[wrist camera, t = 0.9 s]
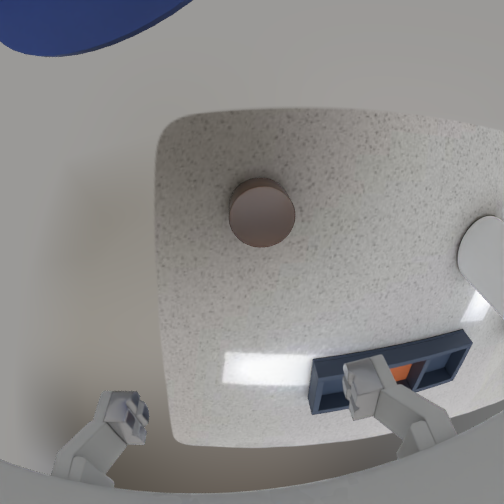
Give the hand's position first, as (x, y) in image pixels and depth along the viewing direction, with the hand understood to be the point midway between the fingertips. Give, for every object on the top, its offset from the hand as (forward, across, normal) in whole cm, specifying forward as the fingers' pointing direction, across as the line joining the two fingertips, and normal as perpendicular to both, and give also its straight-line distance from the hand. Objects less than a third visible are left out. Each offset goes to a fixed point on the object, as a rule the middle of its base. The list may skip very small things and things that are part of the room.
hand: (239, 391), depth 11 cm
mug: (+17, -28, +9) cm, 35 cm away
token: (+17, -2, -1) cm, 17 cm away
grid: (+17, -17, +24) cm, 34 cm away
